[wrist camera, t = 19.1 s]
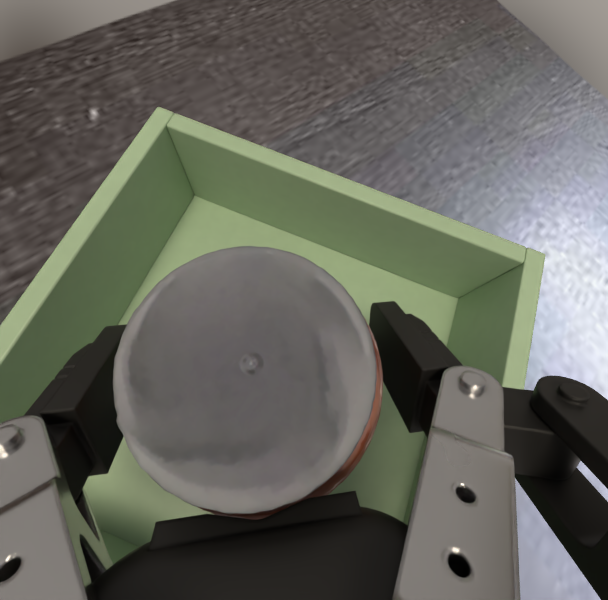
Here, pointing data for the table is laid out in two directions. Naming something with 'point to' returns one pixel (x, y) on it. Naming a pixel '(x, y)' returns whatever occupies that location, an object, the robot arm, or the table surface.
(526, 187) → the table surface
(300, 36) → the table surface
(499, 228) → the table surface
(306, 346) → the supplement bottle
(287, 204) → the desk bin
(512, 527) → the robot arm
